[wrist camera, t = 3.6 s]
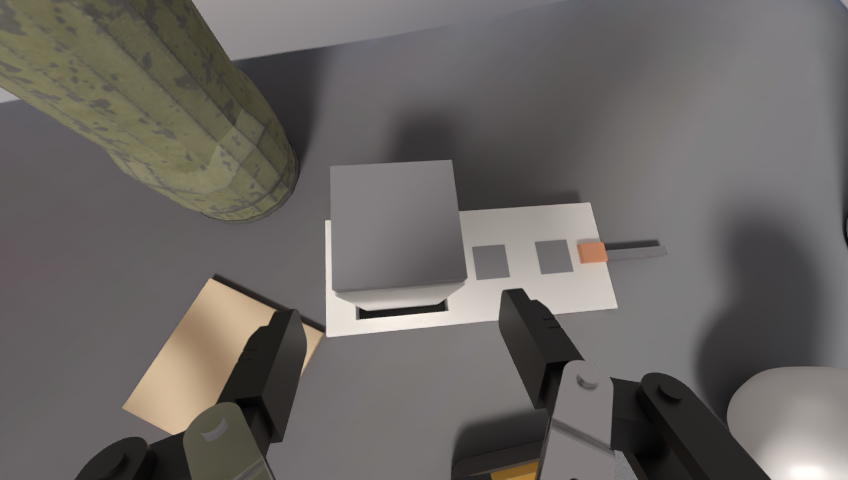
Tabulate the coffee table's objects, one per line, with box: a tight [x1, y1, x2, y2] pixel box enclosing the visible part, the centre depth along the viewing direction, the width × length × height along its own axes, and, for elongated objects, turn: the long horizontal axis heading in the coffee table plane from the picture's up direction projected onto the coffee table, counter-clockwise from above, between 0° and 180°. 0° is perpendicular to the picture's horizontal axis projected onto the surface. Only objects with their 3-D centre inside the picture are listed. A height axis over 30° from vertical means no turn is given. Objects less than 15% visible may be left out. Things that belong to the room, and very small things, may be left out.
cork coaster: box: [123, 278, 324, 435], centre depth 20 cm, size 9×9×1 cm
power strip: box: [325, 202, 667, 337], centre depth 23 cm, size 8×26×2 cm, turn 96°
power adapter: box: [330, 160, 468, 311], centre depth 17 cm, size 5×5×12 cm
